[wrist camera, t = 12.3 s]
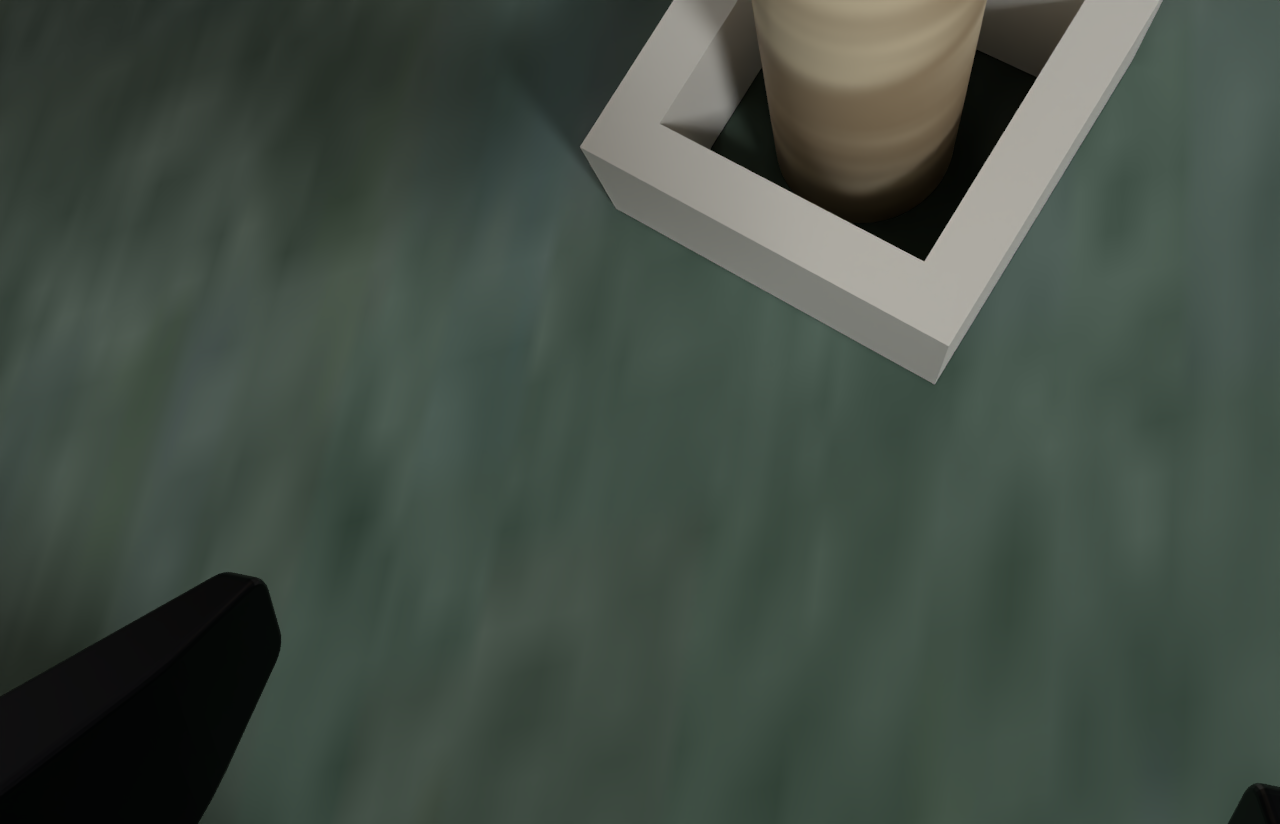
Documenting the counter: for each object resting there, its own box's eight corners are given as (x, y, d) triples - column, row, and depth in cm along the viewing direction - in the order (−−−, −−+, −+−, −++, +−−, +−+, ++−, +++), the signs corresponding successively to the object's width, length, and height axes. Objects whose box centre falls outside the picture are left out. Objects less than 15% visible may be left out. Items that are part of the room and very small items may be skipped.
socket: (934, 384, 23) (948, 346, 20) (615, 208, 25) (579, 146, 22) (1131, 62, 24) (1177, -29, 20) (801, -85, 26) (794, -189, 23)
